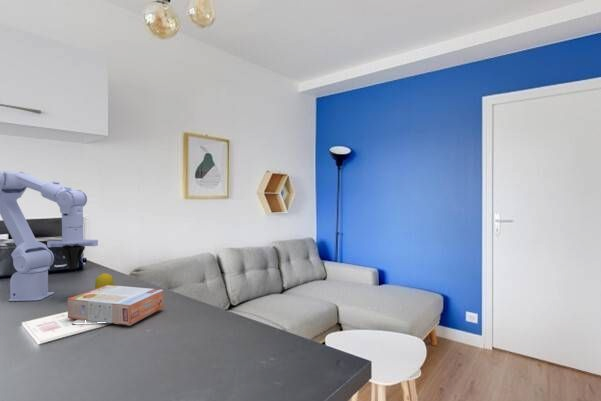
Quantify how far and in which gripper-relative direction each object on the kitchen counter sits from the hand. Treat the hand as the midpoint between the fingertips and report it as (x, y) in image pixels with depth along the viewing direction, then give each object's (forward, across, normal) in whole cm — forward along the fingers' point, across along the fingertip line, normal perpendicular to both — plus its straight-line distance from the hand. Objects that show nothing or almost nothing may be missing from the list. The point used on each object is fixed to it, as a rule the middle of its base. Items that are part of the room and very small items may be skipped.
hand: (73, 268), depth 110 cm
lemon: (+11, +8, +4) cm, 14 cm away
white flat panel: (+11, +17, -12) cm, 23 cm away
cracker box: (+7, +10, -12) cm, 17 cm away
